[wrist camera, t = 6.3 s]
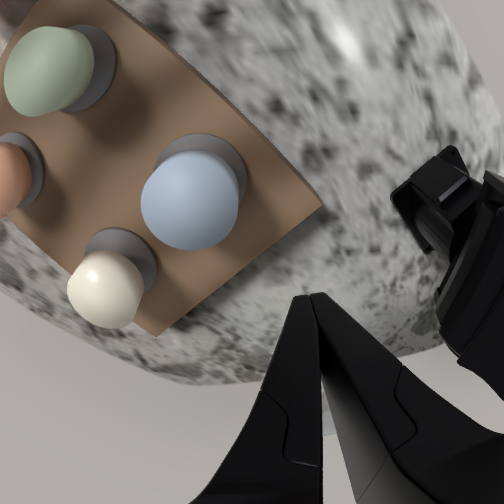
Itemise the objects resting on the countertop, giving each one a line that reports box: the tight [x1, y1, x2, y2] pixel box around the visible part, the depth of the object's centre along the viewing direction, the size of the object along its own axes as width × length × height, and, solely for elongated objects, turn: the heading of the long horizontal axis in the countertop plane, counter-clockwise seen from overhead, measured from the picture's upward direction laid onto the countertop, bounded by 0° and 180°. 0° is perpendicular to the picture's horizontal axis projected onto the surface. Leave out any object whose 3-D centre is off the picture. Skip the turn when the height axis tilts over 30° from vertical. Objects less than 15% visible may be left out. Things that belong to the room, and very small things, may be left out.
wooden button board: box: [0, 0, 323, 337], centre depth 18 cm, size 22×16×3 cm
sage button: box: [4, 26, 94, 117], centre depth 11 cm, size 4×4×2 cm
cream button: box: [67, 250, 144, 329], centre depth 17 cm, size 4×4×2 cm
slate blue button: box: [141, 149, 239, 251], centre depth 15 cm, size 4×4×2 cm
